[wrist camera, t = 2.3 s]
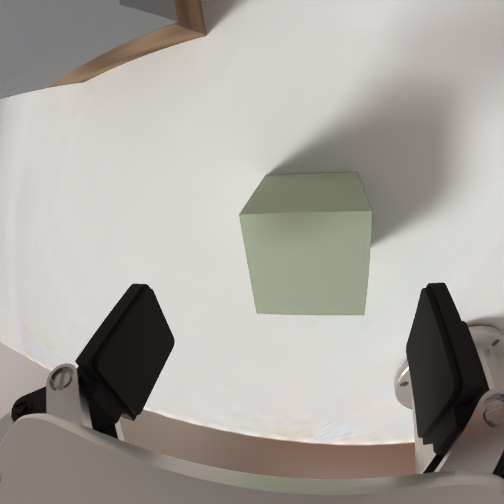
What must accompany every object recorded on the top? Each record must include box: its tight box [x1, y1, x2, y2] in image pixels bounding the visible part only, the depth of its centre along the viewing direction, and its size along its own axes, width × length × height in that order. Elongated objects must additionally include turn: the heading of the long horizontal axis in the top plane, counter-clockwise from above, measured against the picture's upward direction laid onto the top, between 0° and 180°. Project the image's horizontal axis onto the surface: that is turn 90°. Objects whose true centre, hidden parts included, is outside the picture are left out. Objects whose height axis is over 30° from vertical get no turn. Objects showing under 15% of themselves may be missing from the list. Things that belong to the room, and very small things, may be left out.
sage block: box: [239, 172, 372, 315], centre depth 16 cm, size 6×6×6 cm
